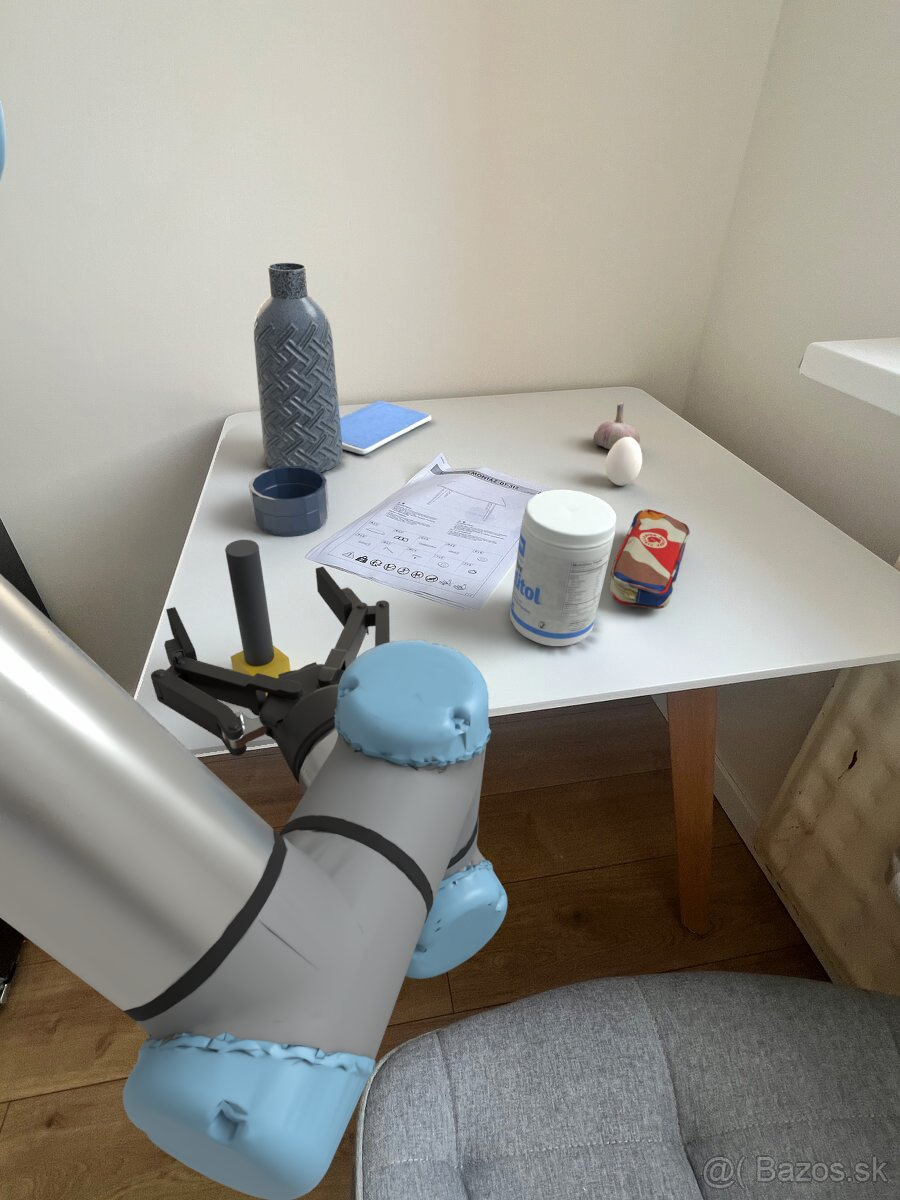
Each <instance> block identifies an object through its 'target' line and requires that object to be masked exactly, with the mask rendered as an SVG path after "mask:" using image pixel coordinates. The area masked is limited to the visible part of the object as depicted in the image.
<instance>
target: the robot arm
mask: <svg viewBox="0 0 900 1200" xmlns="http://www.w3.org/2000/svg"><path fill="white" fill-rule="evenodd" d="M4 114H5V113H4V109H3V103H2V100H1V99H0V182H1V181H2V179H3V175H4V171H5V167H6V160H7V129H6V119H5V115H4ZM315 578H316V589H317V593H318V594H319V596H320V597H321V598H322V600H323V601H324V602H325V604H326V605H327V606H328V608H329V609H330V610H331V612H332V613H333V614H334V617H336V619H337V620H338V621H339V623H340V624H341V626H342V627H343V629H342V631H341V633H340V635H339V637H338V640H337V642H336V644H335V646H334V648H331V649H330V651H329V654H328V655H327V658H326V660H325V662H324V663H317V661H315V662H312V663H309V664H306V665H304V666H302V667H301V668H299V669H294V670H290V671H287V672H284V673H282V674H279V675H278V676H279V678H274V677H270V676H267V675H263V674H260V673H257V674H255V676H251V675H247V674H243V673H240V672H236V671H233V669H230V668H229V669H228V668H226V667H223V666H218V665H215V664H211V663H208V662H204V661H200V660H198V656H197V652H196V649H195V647H194V644H193V642H192V640H191V639H190V636H189V634H188V632H187V629H186V627H185V625H184V623H183V621H182V619H181V616H180V615H179V612H178V611H177V609H176V607H175V606H173V607H169V608H166V609H165V610H166V615H167V618H168V622H169V627H170V631H171V635H172V636H173V637H172V638H170V639H168V640H165V641H164V649H165V654H166V657H167V660H168V662H169V665H170V666H169V667H168V668H166V669H163V668H158V669H156V670H154V671H152V672H151V673H150V679H151V682H152V685H153V690H154V692H155V695H156V700H157V701H158V702H159V703H161V704H162V705H164V706H166V707H168V708H169V709H171V710H172V711H174V712H176V713H177V714H178V715H181V716H182V717H184V718H186V719H187V720H189V721H190V722H192V723H194V724H195V725H197V726H199V727H201V729H204V730H206V731H207V732H208V733H210V734H212V735H214V736H215V737H217V738H218V739H220V740H221V741H222V743H223V744H224V746H225V747H226V750H227V751H228V752H229V754H230V755H232V756H235V757H239V756H242V755H244V754H245V753H246V751H247V743H250V742H253V741H254V740H256V739H259V738H260V737H262V736H267V737H268V738H271V739H272V740H274V742H275V743H276V745H277V747H278V749H279V751H280V753H281V754H282V757H283V758H284V760H285V762H286V764H287V766H288V768H289V770H290V772H291V774H292V775H293V777H294V780H295V781H296V782H297V783H298V785H299V789H300V791H301V793H302V794H303V796H302V797H301V799H300V800H299V803H298V804H297V806H296V807H295V809H294V811H293V812H292V814H291V815H290V817H289V819H288V820H287V822H286V824H285V825H284V826H283V827H282V829H281V831H280V832H279V833H278V832H277V831H276V830H275V829H274V828H273V827H272V826H271V825H270V824H268V822H267V821H266V820H264V818H262V817H261V816H260V815H259V814H258V813H257V812H256V811H255V810H254V809H253V808H251V807H250V806H249V805H248V804H247V803H246V802H245V801H244V800H243V799H242V798H241V797H240V796H238V795H237V794H236V793H235V792H234V791H233V790H232V789H231V788H230V787H229V786H228V785H227V784H226V782H224V781H223V780H222V779H221V778H219V777H218V776H217V775H216V774H215V773H214V772H213V771H212V770H211V769H210V768H209V767H208V766H207V765H206V764H204V763H203V762H202V761H201V760H200V759H199V758H198V757H197V756H196V755H195V754H194V753H193V752H192V751H190V750H189V749H188V748H187V746H185V745H184V744H183V743H182V742H181V741H180V740H179V739H178V738H177V737H176V736H175V735H173V734H172V733H171V732H170V731H169V730H168V729H167V728H166V727H165V726H164V725H163V724H162V723H161V722H160V721H158V720H157V719H156V718H155V716H153V715H152V714H151V713H150V712H149V711H148V710H147V709H146V708H145V707H144V706H142V704H140V703H139V702H138V701H137V700H136V699H135V698H134V697H133V696H132V695H131V694H129V692H127V690H125V689H124V687H122V686H121V685H120V684H119V683H118V682H117V681H116V680H115V679H113V678H112V676H110V674H108V673H107V672H106V671H105V670H104V669H103V668H102V667H101V666H100V665H99V664H97V662H95V661H94V660H93V659H92V658H91V657H90V656H89V654H87V653H86V652H85V651H83V649H82V648H80V647H79V646H78V644H76V643H75V642H74V640H72V639H71V638H70V637H69V636H67V634H65V633H64V632H63V631H62V630H61V629H60V628H59V627H58V626H57V625H56V624H55V623H54V622H53V621H51V620H50V618H48V617H47V616H46V615H45V614H44V613H43V612H42V611H41V610H39V608H38V607H37V606H36V605H34V603H32V602H31V601H30V600H29V599H28V598H27V597H26V596H25V595H24V594H23V593H22V592H21V591H19V589H17V588H16V587H15V586H14V585H13V584H12V583H11V582H10V581H9V580H8V579H6V577H5V576H4V575H3V574H1V573H0V919H1V920H3V921H4V922H5V923H7V924H8V925H10V926H11V927H12V928H13V929H15V930H16V931H17V932H19V933H20V934H21V935H23V936H24V937H25V938H27V939H28V940H29V941H31V942H32V943H33V944H34V945H36V946H37V947H38V948H39V949H41V950H42V951H44V953H46V954H48V955H49V956H50V957H51V958H53V959H54V960H55V961H57V962H59V964H61V965H62V966H63V967H64V968H66V969H67V970H69V971H70V972H71V973H73V974H74V975H75V976H77V977H78V978H79V979H80V980H82V981H83V982H84V983H86V984H87V985H88V986H90V987H91V988H93V989H94V990H95V991H97V992H98V993H99V994H100V995H102V996H103V997H104V998H106V999H107V1000H108V1001H110V1002H111V1003H112V1004H113V1005H115V1006H116V1007H118V1008H119V1009H120V1011H122V1012H123V1013H124V1014H125V1015H127V1016H128V1017H129V1018H131V1019H132V1020H133V1021H135V1022H136V1023H137V1025H139V1026H140V1028H141V1029H142V1030H143V1031H144V1032H145V1033H146V1034H147V1037H146V1039H145V1041H144V1042H143V1043H142V1045H141V1047H140V1048H139V1049H138V1054H137V1061H136V1063H135V1064H134V1066H133V1068H132V1070H131V1071H130V1073H129V1075H128V1077H127V1080H126V1082H125V1084H124V1088H123V1090H122V1103H123V1107H124V1111H125V1113H126V1115H127V1117H128V1120H129V1121H130V1122H131V1123H132V1124H133V1125H134V1126H135V1127H136V1128H137V1129H139V1130H141V1131H142V1132H144V1133H145V1134H146V1136H147V1138H148V1140H150V1141H151V1142H152V1143H153V1144H154V1145H155V1146H156V1147H157V1148H159V1150H160V1149H161V1150H162V1151H163V1152H165V1153H166V1154H168V1155H169V1156H171V1157H172V1158H173V1159H175V1160H177V1161H178V1162H180V1163H182V1164H183V1165H185V1166H186V1167H188V1168H190V1169H192V1170H194V1171H195V1172H197V1173H199V1174H201V1175H203V1176H205V1177H207V1178H208V1179H210V1180H213V1181H214V1182H216V1183H218V1184H219V1185H220V1184H221V1185H223V1186H225V1187H228V1188H230V1189H233V1190H235V1191H238V1192H240V1193H242V1194H245V1195H248V1196H252V1197H255V1198H258V1199H262V1200H296V1199H298V1198H301V1197H303V1196H305V1195H307V1194H308V1193H310V1192H311V1191H312V1190H313V1189H315V1188H316V1187H317V1186H318V1185H319V1183H320V1182H321V1181H322V1179H323V1178H324V1177H325V1175H326V1173H327V1172H328V1170H329V1168H330V1166H331V1164H332V1161H333V1160H334V1157H335V1154H336V1153H337V1150H338V1148H339V1145H340V1143H341V1141H342V1139H343V1136H344V1135H345V1132H346V1130H347V1127H348V1125H349V1123H350V1121H351V1119H352V1116H353V1114H354V1112H355V1109H356V1107H357V1105H358V1102H359V1100H360V1098H361V1095H362V1093H363V1092H364V1089H365V1087H366V1084H367V1082H368V1080H369V1079H370V1078H371V1077H372V1076H373V1074H374V1073H375V1071H376V1065H377V1062H376V1059H377V1055H378V1053H379V1049H380V1047H381V1044H382V1042H383V1038H384V1035H385V1033H386V1030H387V1028H388V1025H389V1023H390V1019H391V1017H392V1013H393V1011H394V1009H395V1005H396V1003H397V1000H398V998H399V994H400V992H401V989H402V986H403V983H404V980H405V979H406V977H407V978H410V979H415V980H416V979H417V980H423V979H429V978H430V979H431V978H435V977H437V976H440V975H443V974H445V973H447V972H450V971H451V970H453V969H455V968H457V967H458V966H460V965H462V964H463V963H465V962H467V961H468V960H469V959H470V958H472V957H473V956H474V955H476V954H477V953H478V952H479V951H480V950H481V949H482V948H483V947H485V946H486V944H488V942H489V941H490V940H491V939H492V938H493V937H494V936H495V934H496V933H497V931H498V930H499V929H500V927H501V925H502V924H503V922H504V919H505V917H506V914H507V910H508V896H507V893H506V889H505V888H504V886H503V885H502V883H501V881H500V880H499V878H498V876H497V875H496V873H495V872H494V869H493V868H494V867H493V864H492V863H491V862H490V860H486V858H485V856H483V854H482V853H481V852H480V850H479V847H478V843H477V842H478V836H479V835H478V833H479V824H480V823H479V822H480V820H479V809H480V799H481V792H482V785H483V784H482V783H483V776H484V775H483V774H484V766H485V759H486V750H487V743H489V741H490V738H491V733H492V730H491V729H490V723H489V698H490V697H489V689H488V684H487V682H486V680H485V677H484V675H483V673H482V672H481V671H480V669H479V668H478V666H477V665H476V664H475V663H474V662H473V661H472V660H471V659H470V658H468V657H467V656H466V655H464V654H463V653H462V652H460V651H459V650H457V649H455V648H453V647H450V646H448V645H440V644H439V643H435V642H433V643H431V642H428V641H426V640H423V639H397V640H393V641H391V632H390V629H391V627H390V626H391V625H390V623H391V622H390V603H389V601H387V600H383V599H382V600H378V601H376V602H375V604H374V605H368V604H367V603H366V602H363V601H362V600H361V599H360V598H359V597H358V596H357V594H356V593H355V592H354V590H353V589H351V588H350V587H348V586H347V587H344V588H341V587H340V586H339V584H338V583H337V582H336V581H335V580H334V578H333V577H332V575H331V574H330V573H329V572H328V571H327V569H326V568H325V567H324V566H319V567H316V568H315ZM371 627H374V647H372V648H369V649H368V650H365V651H363V652H362V653H361V654H359V652H360V650H361V647H362V646H363V645H362V644H363V642H364V641H365V637H366V635H367V636H369V634H370V632H369V628H371ZM358 654H359V655H358ZM266 693H268V694H267V696H266ZM223 702H224V703H223ZM225 703H226V704H225ZM227 704H231V705H234V706H238V707H241V708H244V709H248V710H249V711H250V712H251V714H253V715H255V716H257V717H255V718H250V717H248V716H247V715H245V714H244V713H243V712H242V711H241V710H237V711H235V712H234V711H233V710H232V708H230V706H229V705H227Z"/></svg>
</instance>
